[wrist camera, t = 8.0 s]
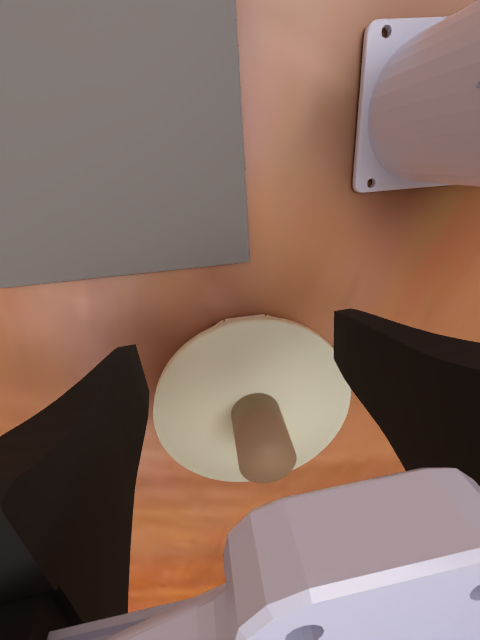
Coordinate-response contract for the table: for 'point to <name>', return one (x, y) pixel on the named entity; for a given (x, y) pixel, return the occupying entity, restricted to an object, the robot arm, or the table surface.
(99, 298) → the table surface
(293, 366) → the lid
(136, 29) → the mat
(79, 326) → the table surface
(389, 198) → the table surface
